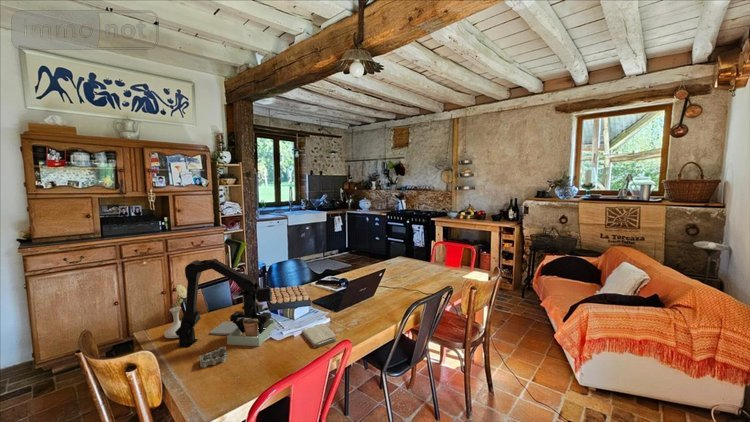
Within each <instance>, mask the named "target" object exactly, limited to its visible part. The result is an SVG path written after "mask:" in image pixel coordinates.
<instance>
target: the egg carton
mask: <svg viewBox="0 0 750 422" xmlns="http://www.w3.org/2000/svg"><path fill="white" fill-rule="evenodd" d="M198 361H199V365H200V366H199V367H200V368H204V369H206V368H207V367H208V366H211V365H212V366H215V365H217V364H218V363H222V364H223V363H225V362H226V361H228V352H227V348H226V346H222V347H221V346H220V347H219V348H217V349H216V350H212V351H210V352H208V353H205V354H202V355H201V354H200V355H199V360H198Z"/></svg>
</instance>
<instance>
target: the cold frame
mask: <svg viewBox="0 0 750 422" xmlns="http://www.w3.org/2000/svg"><path fill="white" fill-rule="evenodd" d="M247 319H248V318H244V321H245V320H247ZM258 328H259V327H258ZM263 328H266V329H265V330H262V333H261V334H260V333H259V336H258V337H251V336H246V335H242V334H243V333H242V332H241V331H240V329H239V328H238V327H237V328H236V329H235V330H234V331H233V332H232V333H230V334H229V335H226V340H227V345H230V346H231V345H233V346H247V347H248V346H250V347H251V346H252V347H261V345H263V343H264V342H265V339H266V337H267V336H268V335H269V333H270V332H271V331H272V330H273V329H274V328H275V329H276V324H275V319H274V318H270V319H269V320H268V321H267V322H266V323H265V324H264V327H263ZM244 332H245V326H244ZM269 336H270V335H269ZM269 336H268V337H269ZM266 340H267V339H266Z"/></svg>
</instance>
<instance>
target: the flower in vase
mask: <svg viewBox="0 0 750 422" xmlns="http://www.w3.org/2000/svg"><path fill="white" fill-rule="evenodd" d="M175 289H176V290H175V291H176V293H177V294H178V295H177V297H176V302H175V303H172V304H171V306H173V307H171V308H170V309H168V310H169V312H170V313H171V314H172V317H173V322H172V325H170V326H169V327H168V328H167V329H166V330H165V332H164V333H163V336H164V337H165V338H166V339H177V338H179V336H177V335H176V333H175V332H176V331H177V330H178V328H179V327H180V326H181V321H180V317H179V315H180V310H181V309H182V307H181V306H178V304H182V303H183V302H184V300H183V299H186V297H187V288H185V286H184V285H182V284H177V286H176V288H175ZM180 297H181V298H180Z"/></svg>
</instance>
